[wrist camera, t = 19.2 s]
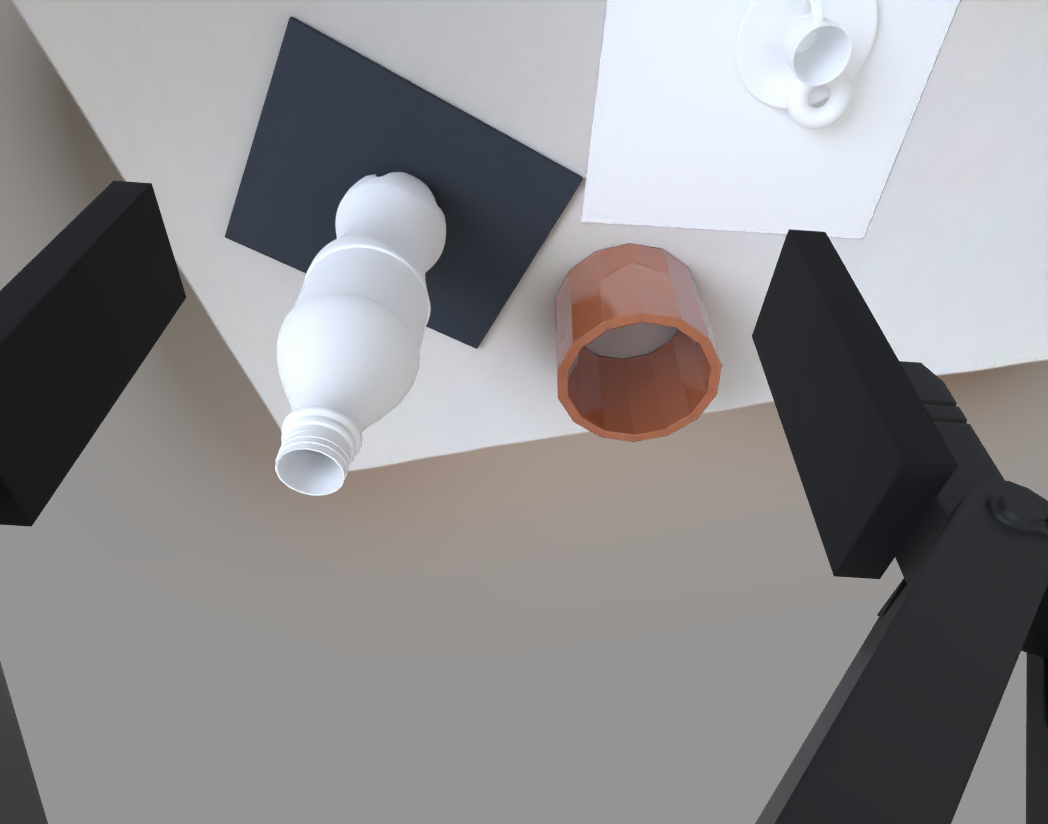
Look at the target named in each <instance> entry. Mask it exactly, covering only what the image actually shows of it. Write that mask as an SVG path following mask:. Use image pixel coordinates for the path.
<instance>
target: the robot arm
mask: <svg viewBox="0 0 1048 824" xmlns="http://www.w3.org/2000/svg"><path fill="white" fill-rule="evenodd" d="M185 298H186V295H185V292H184V288H183V285H182V282H181V279H180V275H179V272H178V269H177V265H176V262H175V259H174V255H173V252H172V249H171V246H170V242H169V239H168V236H167V233H166V229H165V226H164V223H163V219H162V216H161V213H160V210H159V206H158V203H157V200H156V196H155V193H154V190H153V187H152V184H151V183H137V182H123V181H113V182H112V183H111V184H110V185H109V186H108V187H107V188H106V189H105V190H104V191H103V192H102V193H101V194H100V195H99V196H98V197H96V199H94V200H93V201H92V202H91V204H89V205H88V206H87V207H86V208H85V209H84V210H83V211H82V212H81V213H80V214H79V215H78V216H77V217H76V218H75V219H74V220H73V221H72V222H71V223H70V224H69V225H68V226H67V227H66V228H65V229H64V230H62V232H60V233H59V234H58V235H57V236H56V237H55V238H54V239H53V240H52V241H51V242H50V243H49V244H48V245H47V246H46V247H45V248H44V249H43V250H42V251H41V252H40V253H39V254H38V255H37V256H36V257H35V258H34V259H33V260H32V261H31V262H29V263H28V264H27V265H26V266H25V267H24V268H23V269H22V270H21V271H20V272H19V273H18V274H17V275H16V276H15V277H14V278H13V279H12V280H11V281H10V282H9V283H8V284H7V285H6V286H5V287H4V288H3V289H2V290H1V291H0V524H2V525H17V526H18V525H19V526H32V525H33V523H34V522H35V520H36V519H37V517H38V516H39V515H40V513H41V512H42V510H43V509H44V507H45V506H46V504H47V503H48V501H49V500H50V498H51V497H52V495H53V494H54V492H55V491H56V489H57V488H58V487H59V485H60V484H61V482H62V481H63V479H64V477H65V476H66V475H67V473H68V472H69V470H70V469H71V467H72V466H73V464H74V463H75V461H76V460H77V458H78V457H79V455H80V454H81V452H82V451H83V450H84V448H85V447H86V445H87V444H88V442H89V441H90V439H91V438H92V436H93V435H94V433H95V432H96V430H97V429H98V427H99V426H100V424H101V423H102V421H103V420H104V418H105V417H106V415H107V414H108V413H109V411H110V409H111V408H112V406H113V405H114V404H115V402H116V401H117V399H118V398H119V396H120V395H121V393H122V392H123V390H124V389H125V387H126V386H127V384H128V383H129V381H130V380H131V378H132V377H133V375H134V374H135V373H136V371H137V370H138V368H139V367H140V365H141V364H142V362H143V361H144V359H145V358H146V356H147V355H148V353H149V352H150V350H151V349H152V347H153V346H154V344H155V343H156V341H157V340H158V338H159V337H160V336H161V334H162V332H163V331H164V330H165V328H166V327H167V325H168V324H169V322H170V321H171V319H172V318H173V316H174V315H175V313H176V311H177V310H178V309H179V307H180V306H181V304H182V303H183V301H184V300H185ZM752 338H753V341H754V344H755V346H756V349H757V352H758V355H759V358H760V361H761V364H762V367H763V370H764V373H765V376H766V379H767V382H768V384H769V387H770V390H771V393H772V396H773V399H774V402H775V405H776V408H777V411H778V414H779V417H780V420H781V423H782V425H783V428H784V431H785V434H786V437H787V440H788V443H789V446H790V449H791V451H792V454H793V458H794V461H795V464H796V466H797V469H798V472H799V475H800V478H801V481H802V484H803V487H804V489H805V493H806V496H807V498H808V501H809V504H810V507H811V510H812V513H813V516H814V519H815V522H816V525H817V528H818V531H819V534H820V537H821V539H822V542H823V545H824V548H825V551H826V554H827V557H828V560H829V563H830V566H831V569H832V572H833V575H834V576H840V577H855V578H856V577H857V578H872V579H880V578H881V576H882V575H883V574H884V572H885V571H886V569H887V568H888V566H889V565H890V563H891V562H892V561H893V559H894V558H895V557H896V560H897V562H898V564H899V567H900V569H901V571H902V574H903V576H904V579H903V580H902V582H901V583H900V584H899V586H898V587H897V588H896V590H895V591H894V592H893V594H892V595H891V597H890V598H889V599H888V601H887V602H886V604H885V605H884V606H883V608H882V609H881V610H880V612H879V613H878V614H877V615H878V616H879V618H878V620H877V622H876V623H875V625H874V626H873V628H872V630H871V631H870V633H869V635H868V637H867V638H866V640H865V641H864V643H863V645H862V647H861V648H860V650H859V651H858V653H857V655H856V656H855V658H854V660H853V662H852V663H851V665H850V667H849V668H848V670H847V671H846V673H845V675H844V677H843V678H842V680H841V682H840V683H839V685H838V686H837V688H836V690H835V692H834V693H833V695H832V697H831V698H830V700H829V702H828V703H827V705H826V707H825V708H824V710H823V712H822V713H821V715H820V717H819V718H818V720H817V722H816V723H815V725H814V726H813V728H812V730H811V731H810V733H809V735H808V736H807V738H806V740H805V742H804V743H803V745H802V747H801V748H800V750H799V752H798V753H797V755H796V756H795V758H794V760H793V762H792V763H791V765H790V767H789V768H788V770H787V771H786V773H785V775H784V776H783V778H782V780H781V782H780V783H779V785H778V787H777V788H776V790H775V791H774V793H773V795H772V796H771V798H770V800H769V801H768V803H767V805H766V806H765V808H764V810H763V812H762V813H761V815H760V816H759V818H758V820H757V822H756V823H755V824H951V822H952V820H953V817H954V815H955V812H956V810H957V807H958V805H959V802H960V799H961V797H962V795H963V792H964V790H965V787H966V785H967V783H968V780H969V778H970V775H971V772H972V770H973V768H974V765H975V763H976V760H977V758H978V755H979V753H980V750H981V748H982V746H983V743H984V741H985V738H986V736H987V733H988V730H989V728H990V726H991V723H992V721H993V718H994V716H995V713H996V711H997V708H998V706H999V704H1000V701H1001V699H1002V696H1003V694H1004V691H1005V689H1006V686H1007V684H1008V681H1009V679H1010V676H1011V674H1012V671H1013V669H1014V666H1015V663H1016V662H1017V659H1018V657H1019V654H1020V652H1021V651H1024V652H1027V722H1026V724H1027V725H1026V731H1027V732H1026V734H1027V735H1026V737H1027V738H1026V741H1027V742H1026V824H1048V501H1047V500H1046V499H1044V498H1042V497H1041V496H1039V495H1038V494H1036V493H1034V492H1033V491H1031V490H1030V489H1028V488H1026V487H1023V486H1020V485H1018V484H1015V483H1013V482H1009V481H1005V480H1004V479H1003V477H1002V475H1001V474H1000V472H999V470H998V469H997V467H996V466H995V464H994V462H993V461H992V459H991V458H990V456H989V454H988V453H987V451H986V449H985V448H984V446H983V445H982V443H981V442H980V440H979V438H978V437H977V435H976V434H975V432H974V430H973V429H972V427H971V426H970V424H967V423H966V421H967V419H966V418H965V416H964V414H963V413H962V411H961V409H960V408H959V407H956V401H955V400H954V398H953V397H952V395H951V393H950V392H949V390H948V389H947V387H946V385H945V384H944V382H943V381H942V380H941V379H939V378H938V377H937V376H936V375H935V374H933V373H932V372H931V371H930V370H929V369H928V368H926V367H925V366H924V365H923V364H922V363H916V362H901V361H899V360H898V358H897V357H896V355H895V353H894V351H893V350H892V348H891V346H890V344H889V343H888V341H887V339H886V337H885V336H884V334H883V332H882V330H881V329H880V327H879V325H878V323H877V322H876V320H875V318H874V316H873V315H872V313H871V311H870V309H869V308H868V306H867V304H866V302H865V301H864V299H863V297H862V295H861V294H860V292H859V290H858V288H857V287H856V285H855V283H854V281H853V280H852V278H851V276H850V274H849V273H848V271H847V269H846V267H845V265H844V264H843V262H842V260H841V258H840V257H839V255H838V253H837V251H836V250H835V248H834V246H833V244H832V243H831V241H830V239H829V237H828V236H827V234H826V232H821V231H807V230H793V229H789V230H788V233H787V236H786V239H785V242H784V245H783V248H782V250H781V253H780V256H779V259H778V262H777V265H776V268H775V271H774V274H773V277H772V280H771V282H770V285H769V288H768V291H767V294H766V297H765V300H764V303H763V306H762V309H761V311H760V314H759V317H758V320H757V323H756V326H755V329H754V332H753V335H752ZM0 824H48V822H47V819H46V816H45V812H44V809H43V805H42V802H41V799H40V795H39V792H38V788H37V785H36V782H35V779H34V775H33V771H32V768H31V765H30V761H29V758H28V754H27V751H26V748H25V745H24V741H23V737H22V734H21V731H20V727H19V724H18V720H17V717H16V714H15V710H14V707H13V703H12V700H11V697H10V693H9V690H8V686H7V683H6V680H5V676H4V673H3V670H2V666H1V663H0Z"/></svg>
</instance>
